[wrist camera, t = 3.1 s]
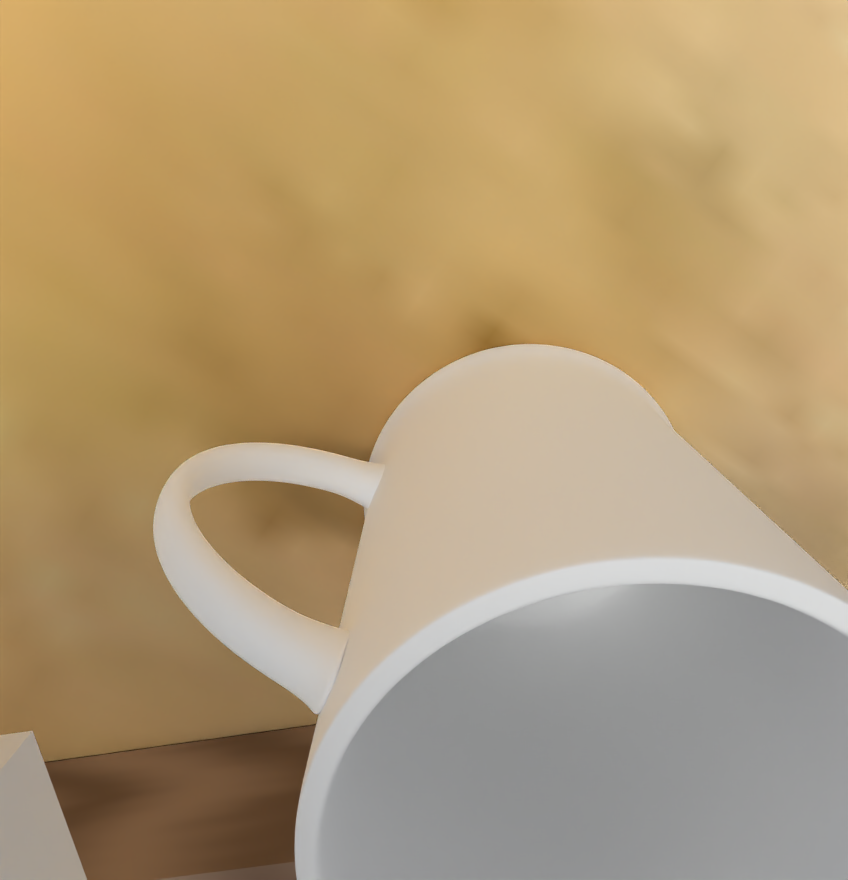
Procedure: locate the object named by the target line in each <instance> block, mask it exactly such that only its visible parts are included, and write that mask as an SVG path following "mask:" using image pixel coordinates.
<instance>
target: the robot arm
mask: <svg viewBox="0 0 848 880" xmlns="http://www.w3.org/2000/svg"><path fill="white" fill-rule="evenodd" d="M0 880H87V878H86V875H85V872H84V870H83V867H82V864H81V861H80V859H79V856H78V853H77V851H76V848H75V845H74V842H73V840H72V837H71V834H70V831H69V829H68V826H67V823H66V820H65V818H64V815H63V812H62V810H61V807H60V804H59V801H58V799H57V796H56V793H55V790H54V788H53V785H52V782H51V779H50V777H49V774H48V771H47V768H46V766H45V763H44V760H43V758H42V755H41V752H40V749H39V747H38V744H37V741H36V738H35V736H34V733H33V731H27V732H19V733H12V734H5V735H0Z"/></svg>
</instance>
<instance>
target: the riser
mask: <svg viewBox="0 0 848 880" xmlns="http://www.w3.org/2000/svg"><path fill="white" fill-rule="evenodd" d="M315 727H316V725H312V726H305V727H298V728H291V729H284V730H276V731H269V732H262V733H255V734H248V735H241V736H233V737H226V738H219V739H212V740H205V741H197V742H190V743H183V744H176V745H169V746H162V747H154V748H147V749H140V750H133V751H126V752H118V753H111V754H104V755H97V756H90V757H83V758H75V759H68V760H61V761H54V762H47V763H45V766H46V768H47V771H48V774H49V777H50V779H51V782H52V785H53V788H54V790H55V793H56V796H57V799H58V801H59V804H60V807H61V810H62V812H63V815H64V818H65V820H66V823H67V826H68V829H69V831H70V834H71V837H72V840H73V842H74V845H75V848H76V851H77V853H78V856H79V859H80V861H81V864H82V867H83V870H84V872H85V875H86V878H87V880H297V878H296V869H295V852H294V845H295V825H296V816H297V809H298V803H299V797H300V792H301V788H302V783H303V778H304V774H305V770H306V765H307V761H308V757H309V752H310V748H311V744H312V740H313V736H314V731H315Z"/></svg>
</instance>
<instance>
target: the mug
mask: <svg viewBox="0 0 848 880" xmlns="http://www.w3.org/2000/svg"><path fill="white" fill-rule="evenodd" d="M239 481H275V482H285V483H292V484H298V485H304V486H309V487H313V488H318V489H322V490H326V491H329V492H332V493H336V494H338V495H341V496H344V497H346V498H348V499H350V500H352V501H354V502H356V503H358V504H360V505H362V506H363V507H364V516H365V522H364V526H363V530H362V534H361V538H360V543H359V547H358V551H357V555H356V559H355V564H354V568H353V572H352V576H351V580H350V585H349V589H348V593H347V597H346V601H345V606H344V610H343V614H342V618H341V622H340V627H339V628H338V627H334V626H331V625H328V624H325V623H322V622H319V621H317V620H314V619H311V618H309V617H306V616H304V615H302V614H300V613H298V612H296V611H294V610H292V609H290V608H288V607H286V606H285V605H283V604H281V603H279V602H278V601H276V600H275V599H273V598H271V597H270V596H268V595H267V594H265V593H264V592H263V591H261V590H260V589H258V588H257V587H255V586H254V585H253V584H251V583H250V582H249V581H248V580H246V579H245V578H244V577H243V576H241V575H240V574H239V573H238V572H237V571H235V570H234V569H233V568H232V567H231V566H230V565H229V564H228V563H227V562H226V561H225V560H224V559H223V558H222V557H221V556H220V555H219V554H218V553H217V552H216V551H215V550H214V549H213V547H212V546H211V545H210V544H209V543H208V541H207V540H206V539H205V537H204V536H203V534H202V533H201V531H200V530H199V528H198V526H197V524H196V522H195V520H194V518H193V515H192V512H191V508H190V500H191V499H192V498H193V497H194V496H195V495H197V494H198V493H200V492H202V491H204V490H206V489H208V488H211V487H214V486H217V485H221V484H225V483H231V482H239ZM153 535H154V543H155V548H156V552H157V555H158V558H159V561H160V564H161V566H162V569H163V571H164V573H165V575H166V577H167V579H168V580H169V582H170V584H171V585H172V587H173V589H174V590H175V592H176V593H177V595H178V596H179V597H180V599H181V600H182V601H183V603H184V604H185V605H186V607H187V608H188V609H189V610H190V611H191V613H192V614H193V615H194V616H195V617H196V618H197V619H198V620H199V621H200V622H201V623H202V624H203V625H204V626H205V627H206V629H208V630H209V631H210V632H211V633H212V634H213V635H214V636H215V637H216V638H217V639H218V640H219V641H221V642H222V643H223V644H224V645H225V646H226V647H228V648H229V649H230V650H231V651H233V652H234V653H235V654H236V655H238V656H239V657H240V658H242V659H243V660H244V661H246V662H247V663H248V664H250V665H251V666H253V667H254V668H255V669H257V670H258V671H260V672H261V673H263V674H264V675H266V676H267V677H269V678H270V679H272V680H273V681H275V682H277V683H278V684H280V685H281V686H283V687H284V688H286V689H287V690H288V691H290V692H291V693H293V694H294V695H295V696H297V697H298V698H299V699H300V700H302V701H303V702H304V703H305V704H306V705H307V706H308V707H309V708H310V709H311V711H312V712H313V713H315V714H319V715H318V719H317V723H316V727H315V731H314V736H313V740H312V744H311V748H310V752H309V757H308V761H307V765H306V770H305V774H304V778H303V783H302V788H301V792H300V797H299V803H298V809H297V816H296V825H295V845H294V852H295V869H296V878H297V880H848V590H847V589H846V588H845V587H844V586H842V585H841V584H840V583H839V582H838V581H837V580H836V579H835V578H834V577H833V576H832V575H831V574H829V573H828V572H827V571H826V570H825V569H824V568H823V567H822V566H821V565H820V564H819V563H817V562H816V561H815V560H814V559H813V558H812V557H811V556H810V555H809V554H808V553H807V552H806V551H804V550H803V549H802V548H801V547H800V546H799V545H798V544H797V543H796V542H795V541H794V540H793V539H791V538H790V537H789V536H788V535H787V534H786V533H785V532H784V531H783V530H782V529H781V528H780V527H778V526H777V525H776V524H775V523H774V522H773V521H772V520H771V519H770V518H769V517H768V516H767V515H765V514H764V513H763V512H762V511H761V510H760V509H759V508H758V507H757V506H756V505H755V504H754V503H752V502H751V501H750V500H749V499H748V498H747V497H746V496H745V495H744V494H743V493H742V492H741V491H739V490H738V489H737V488H736V487H735V486H734V485H733V484H732V483H731V482H730V481H729V480H727V479H726V478H725V477H724V476H723V475H722V474H721V473H720V472H719V471H718V470H717V469H716V468H714V467H713V466H712V465H711V464H710V463H709V462H708V461H707V460H706V459H705V458H704V457H703V456H701V455H700V454H699V453H698V452H697V451H696V450H695V449H694V448H693V447H692V446H691V445H690V444H688V443H687V442H686V441H685V440H684V439H683V438H682V437H681V436H680V435H679V434H678V433H677V432H675V431H674V429H673V427H672V425H671V423H670V421H669V420H668V418H667V416H666V415H665V413H664V412H663V410H662V409H661V408H660V406H659V405H658V404H657V402H656V401H655V400H654V399H653V398H652V396H651V395H650V394H649V393H648V392H647V391H646V390H645V389H644V388H643V387H642V386H641V385H639V384H638V383H637V382H636V381H635V380H634V379H632V378H631V377H630V376H628V375H627V374H626V373H624V372H623V371H621V370H620V369H618V368H616V367H615V366H613V365H611V364H609V363H607V362H606V361H603V360H601V359H599V358H597V357H595V356H592V355H589V354H587V353H584V352H581V351H577V350H574V349H570V348H565V347H560V346H553V345H544V344H517V345H507V346H501V347H496V348H491V349H487V350H483V351H480V352H477V353H474V354H471V355H468V356H466V357H463V358H461V359H459V360H456V361H454V362H452V363H450V364H449V365H447V366H445V367H443V368H441V369H440V370H438V371H437V372H435V373H434V374H432V375H431V376H429V377H428V378H427V379H425V380H424V381H423V382H422V383H420V384H419V385H418V386H417V387H416V388H415V389H413V390H412V391H411V392H410V393H409V394H408V395H407V396H406V397H405V399H404V400H403V401H402V402H401V403H400V404H399V405H398V407H397V408H396V409H395V410H394V412H393V413H392V415H391V416H390V417H389V419H388V421H387V422H386V424H385V425H384V427H383V429H382V431H381V433H380V435H379V437H378V439H377V441H376V443H375V446H374V448H373V451H372V454H371V457H370V460H369V462H366V461H362V460H358V459H354V458H350V457H347V456H343V455H339V454H336V453H332V452H328V451H323V450H319V449H314V448H308V447H303V446H296V445H289V444H280V443H264V442H250V443H236V444H228V445H223V446H218V447H214V448H211V449H208V450H205V451H202V452H200V453H198V454H196V455H194V456H192V457H191V458H189V459H187V460H186V461H185V462H183V463H182V464H181V465H180V466H179V467H178V468H177V469H176V470H175V471H174V472H173V473H172V474H171V476H170V477H169V479H168V480H167V482H166V483H165V485H164V487H163V489H162V491H161V493H160V496H159V498H158V501H157V505H156V509H155V513H154V521H153Z"/></svg>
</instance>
